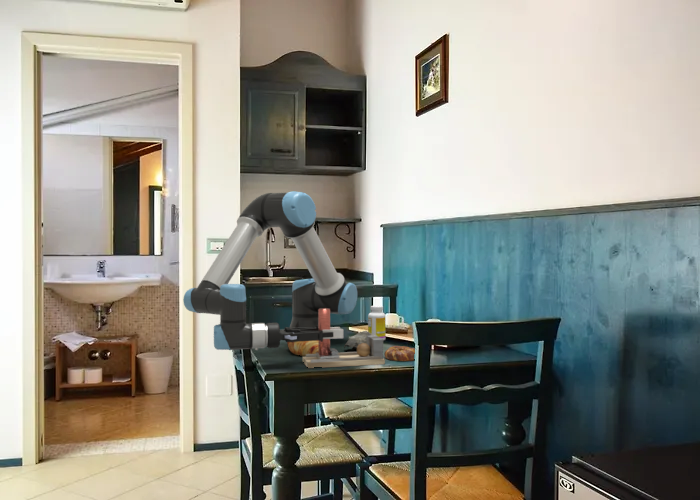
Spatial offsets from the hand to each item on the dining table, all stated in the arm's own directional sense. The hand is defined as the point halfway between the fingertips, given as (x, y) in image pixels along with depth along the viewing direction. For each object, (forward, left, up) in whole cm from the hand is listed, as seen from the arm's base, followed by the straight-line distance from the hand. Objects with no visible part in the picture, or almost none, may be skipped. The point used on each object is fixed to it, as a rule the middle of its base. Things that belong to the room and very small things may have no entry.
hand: (341, 332), depth 186 cm
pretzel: (-3, +20, -10) cm, 23 cm away
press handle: (0, -4, -8) cm, 9 cm away
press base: (0, +1, -10) cm, 10 cm away
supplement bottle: (-37, +23, -10) cm, 44 cm away
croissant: (-17, -8, -10) cm, 21 cm away
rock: (-18, +11, -10) cm, 24 cm away
